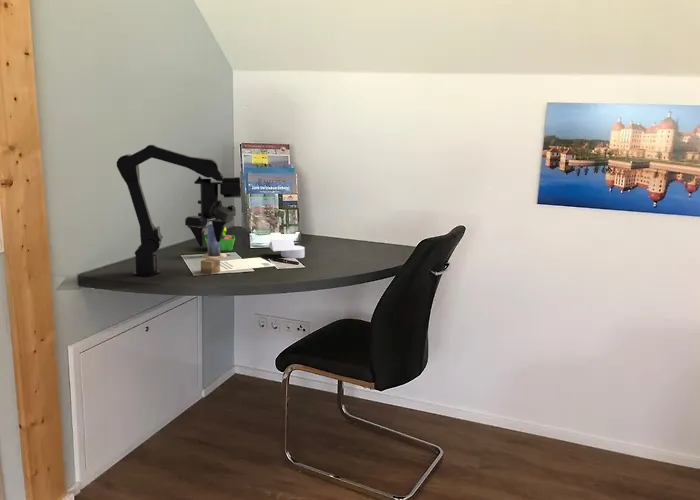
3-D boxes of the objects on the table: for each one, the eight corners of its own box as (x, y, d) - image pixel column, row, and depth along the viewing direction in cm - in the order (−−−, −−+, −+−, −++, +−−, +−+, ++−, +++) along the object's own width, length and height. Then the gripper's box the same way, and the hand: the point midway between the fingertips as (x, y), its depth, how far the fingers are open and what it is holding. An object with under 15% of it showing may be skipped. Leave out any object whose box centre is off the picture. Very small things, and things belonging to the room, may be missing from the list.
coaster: (217, 260, 230) (217, 258, 229) (197, 257, 233) (197, 256, 233) (231, 255, 238) (231, 254, 237) (211, 253, 241) (211, 251, 241)
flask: (217, 256, 233) (217, 223, 230) (206, 256, 233) (205, 223, 231) (222, 254, 237) (221, 221, 234) (210, 253, 238) (210, 221, 235)
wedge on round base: (273, 259, 233) (307, 258, 238) (273, 242, 232) (307, 240, 236) (268, 254, 242) (301, 253, 246) (268, 237, 240) (301, 236, 245)
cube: (211, 275, 208) (211, 262, 207) (200, 273, 210) (200, 260, 209) (220, 272, 212) (219, 259, 211) (209, 271, 214) (209, 258, 213)
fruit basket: (205, 252, 243) (204, 223, 241) (205, 247, 251) (204, 219, 249) (235, 251, 246) (235, 223, 243) (234, 247, 254) (234, 219, 252)
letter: (219, 272, 212) (219, 271, 212) (205, 263, 225) (205, 262, 225) (276, 266, 223) (276, 265, 223) (260, 258, 235) (260, 257, 235)
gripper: (212, 202, 194) (213, 251, 197) (245, 196, 211) (246, 242, 214) (183, 199, 199) (184, 247, 202) (218, 194, 215) (219, 238, 219)
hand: (210, 244), depth 209 cm, fingers open, 9 cm apart
